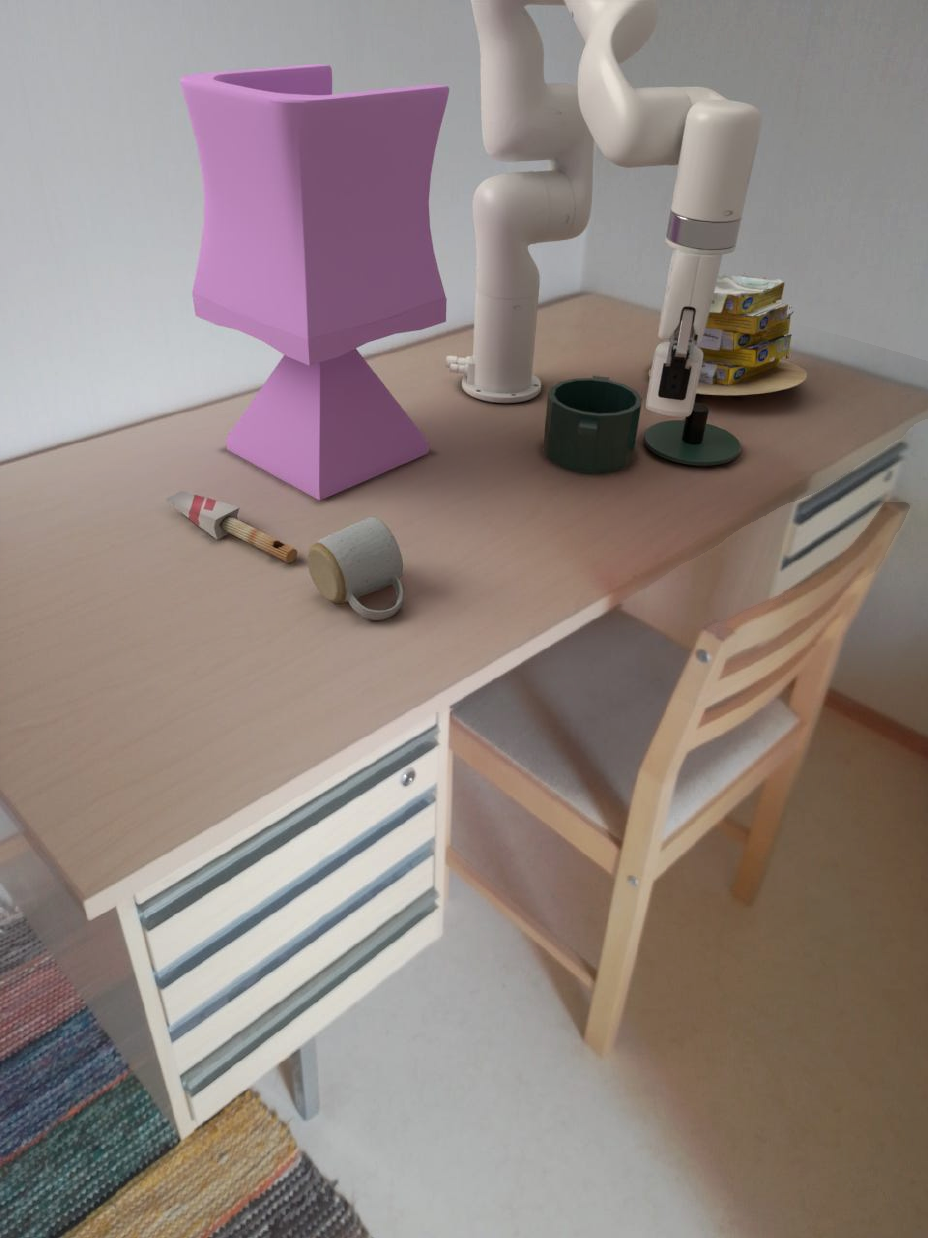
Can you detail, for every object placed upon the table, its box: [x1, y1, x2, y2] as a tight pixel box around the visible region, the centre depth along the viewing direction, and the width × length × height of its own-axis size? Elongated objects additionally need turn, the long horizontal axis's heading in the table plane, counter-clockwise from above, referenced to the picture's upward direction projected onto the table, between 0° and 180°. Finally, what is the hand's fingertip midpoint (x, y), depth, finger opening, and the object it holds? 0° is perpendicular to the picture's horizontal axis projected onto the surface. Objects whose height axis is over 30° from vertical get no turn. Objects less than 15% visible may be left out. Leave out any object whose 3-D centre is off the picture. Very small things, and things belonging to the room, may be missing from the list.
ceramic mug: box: [307, 516, 404, 621], centre depth 102 cm, size 11×8×8 cm
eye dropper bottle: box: [645, 318, 703, 418], centre depth 112 cm, size 4×6×12 cm
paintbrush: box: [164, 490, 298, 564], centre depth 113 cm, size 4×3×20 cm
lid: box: [643, 402, 741, 467], centre depth 135 cm, size 14×14×6 cm
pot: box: [542, 375, 643, 475], centre depth 132 cm, size 13×18×8 cm
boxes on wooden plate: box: [648, 272, 808, 398], centre depth 152 cm, size 25×25×17 cm
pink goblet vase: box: [179, 63, 450, 501], centre depth 118 cm, size 22×22×45 cm
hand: (672, 389), depth 114 cm, fingers closed on eye dropper bottle, 3 cm apart
